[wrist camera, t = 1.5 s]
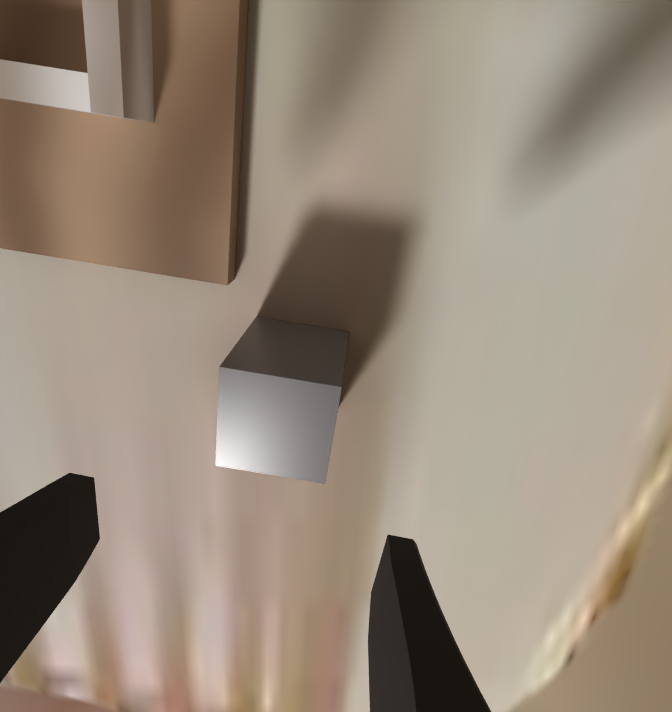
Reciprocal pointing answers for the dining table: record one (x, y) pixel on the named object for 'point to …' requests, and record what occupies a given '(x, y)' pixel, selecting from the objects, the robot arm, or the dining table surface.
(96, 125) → the dock
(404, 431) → the dining table surface
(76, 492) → the robot arm
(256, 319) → the grey matte cube
